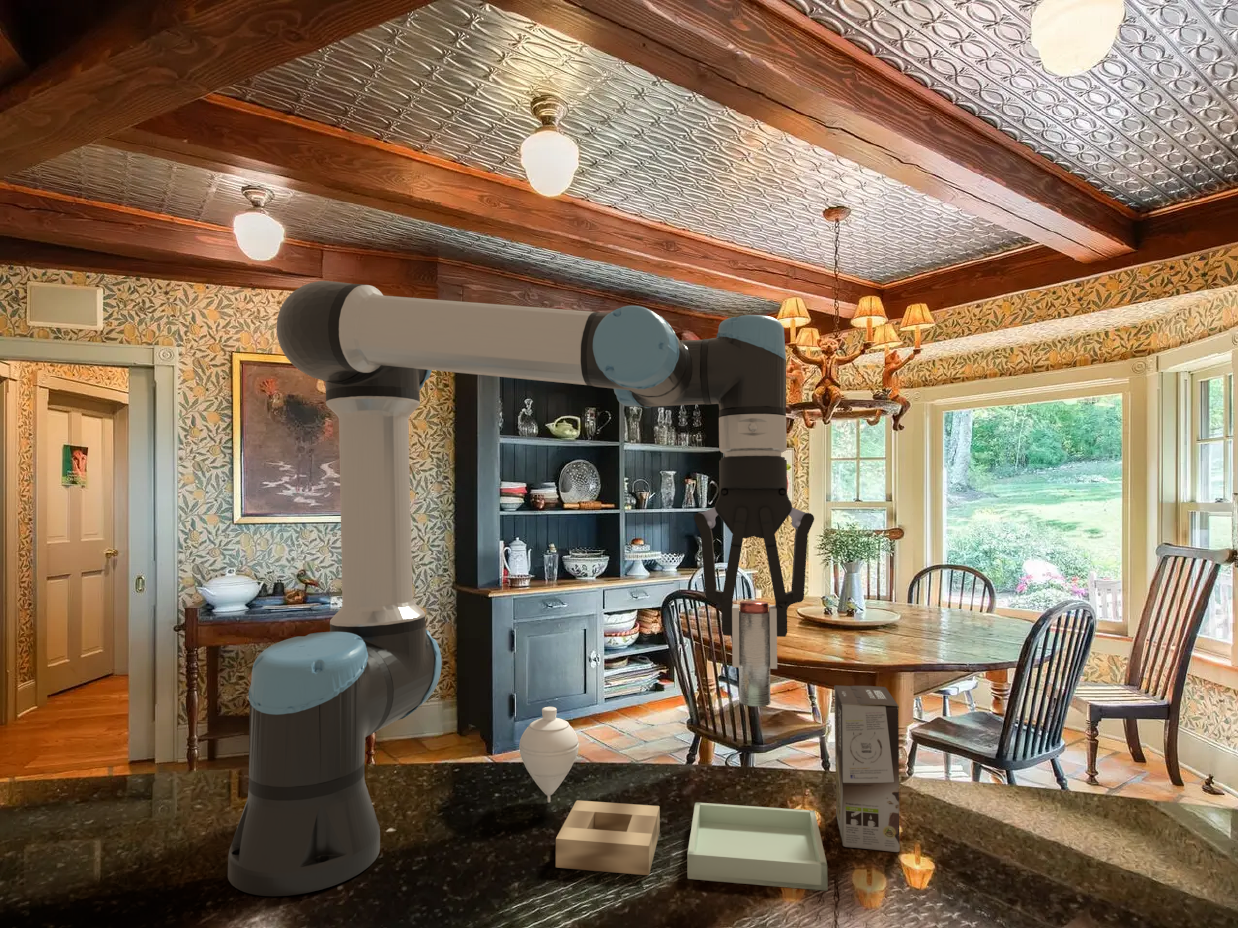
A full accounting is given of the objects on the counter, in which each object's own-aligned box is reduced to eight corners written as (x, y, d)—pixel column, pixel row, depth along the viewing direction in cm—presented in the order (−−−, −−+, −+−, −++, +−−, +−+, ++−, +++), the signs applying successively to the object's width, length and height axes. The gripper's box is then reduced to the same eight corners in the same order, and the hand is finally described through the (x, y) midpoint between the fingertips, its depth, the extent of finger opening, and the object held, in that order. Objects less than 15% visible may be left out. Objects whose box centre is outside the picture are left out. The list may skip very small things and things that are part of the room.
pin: (739, 705, 81) (738, 604, 81) (739, 697, 84) (738, 600, 84) (771, 707, 80) (770, 605, 81) (769, 698, 83) (768, 600, 84)
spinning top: (533, 820, 90) (533, 720, 90) (509, 797, 96) (510, 704, 97) (589, 806, 94) (589, 711, 94) (562, 786, 100) (563, 696, 101)
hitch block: (555, 867, 78) (555, 838, 78) (576, 825, 88) (576, 800, 88) (649, 875, 77) (649, 845, 77) (659, 831, 87) (659, 805, 87)
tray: (687, 878, 76) (687, 853, 76) (695, 823, 89) (695, 802, 89) (827, 890, 74) (827, 865, 74) (814, 832, 87) (814, 810, 87)
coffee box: (902, 853, 81) (900, 705, 82) (841, 847, 83) (840, 702, 83) (889, 818, 90) (887, 685, 91) (834, 813, 92) (833, 682, 92)
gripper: (677, 454, 81) (678, 670, 80) (831, 452, 78) (834, 676, 77) (682, 457, 88) (683, 655, 87) (824, 456, 86) (826, 660, 85)
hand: (754, 664), depth 82 cm, fingers closed on pin, 3 cm apart
